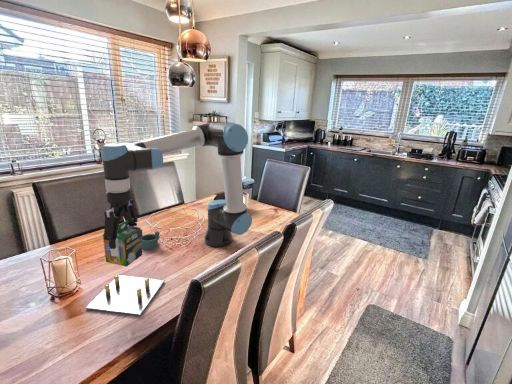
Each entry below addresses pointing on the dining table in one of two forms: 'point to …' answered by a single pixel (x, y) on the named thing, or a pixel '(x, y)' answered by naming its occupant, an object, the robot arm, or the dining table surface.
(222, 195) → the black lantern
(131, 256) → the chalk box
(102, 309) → the plate
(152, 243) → the green pot
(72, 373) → the dining table surface
